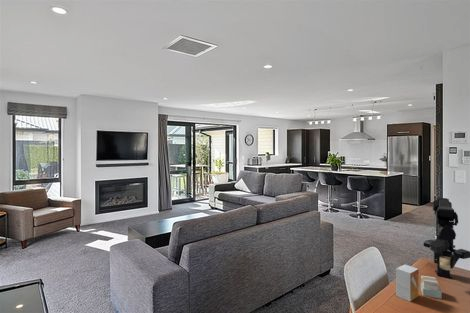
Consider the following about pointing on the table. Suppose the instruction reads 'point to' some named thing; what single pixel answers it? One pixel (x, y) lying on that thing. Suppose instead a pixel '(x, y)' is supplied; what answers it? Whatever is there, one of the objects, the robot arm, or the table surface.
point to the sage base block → (431, 292)
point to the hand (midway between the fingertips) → (446, 266)
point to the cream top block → (429, 282)
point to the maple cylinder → (445, 263)
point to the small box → (407, 282)
